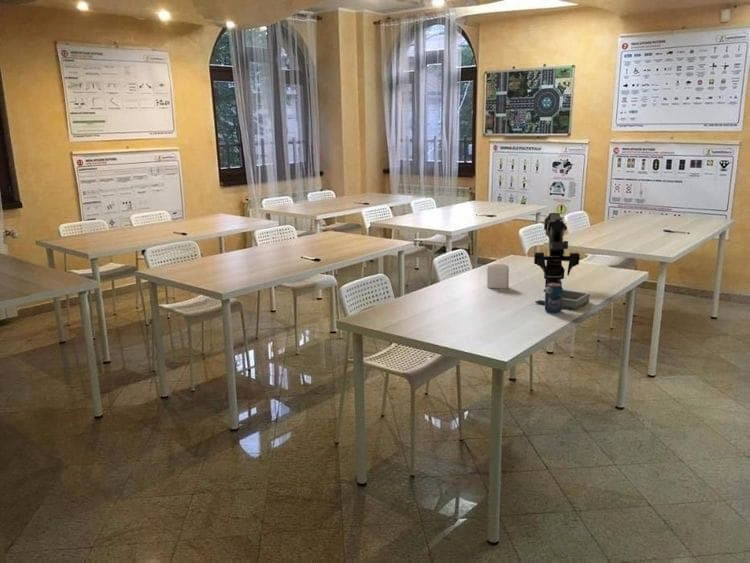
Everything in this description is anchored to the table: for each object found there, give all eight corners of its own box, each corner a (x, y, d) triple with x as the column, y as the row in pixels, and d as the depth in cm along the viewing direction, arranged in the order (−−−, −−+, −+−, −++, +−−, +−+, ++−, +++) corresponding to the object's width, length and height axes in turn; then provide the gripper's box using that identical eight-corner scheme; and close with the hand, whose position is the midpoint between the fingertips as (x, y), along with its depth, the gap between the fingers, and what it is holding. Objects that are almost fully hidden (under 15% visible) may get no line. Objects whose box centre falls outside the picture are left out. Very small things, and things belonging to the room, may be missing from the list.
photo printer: (486, 288, 305) (486, 263, 302) (487, 286, 309) (488, 261, 306) (507, 289, 302) (508, 264, 299) (509, 287, 306) (509, 262, 303)
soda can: (549, 314, 262) (550, 286, 259) (541, 310, 269) (542, 282, 266) (564, 313, 263) (565, 285, 260) (556, 308, 270) (557, 281, 267)
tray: (544, 305, 276) (545, 296, 275) (558, 297, 286) (559, 289, 285) (575, 310, 267) (576, 301, 266) (589, 302, 277) (589, 293, 276)
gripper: (535, 234, 273) (534, 264, 265) (580, 234, 269) (581, 264, 261) (534, 248, 282) (533, 278, 274) (577, 249, 278) (579, 279, 270)
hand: (556, 275), depth 270 cm, fingers open, 9 cm apart
